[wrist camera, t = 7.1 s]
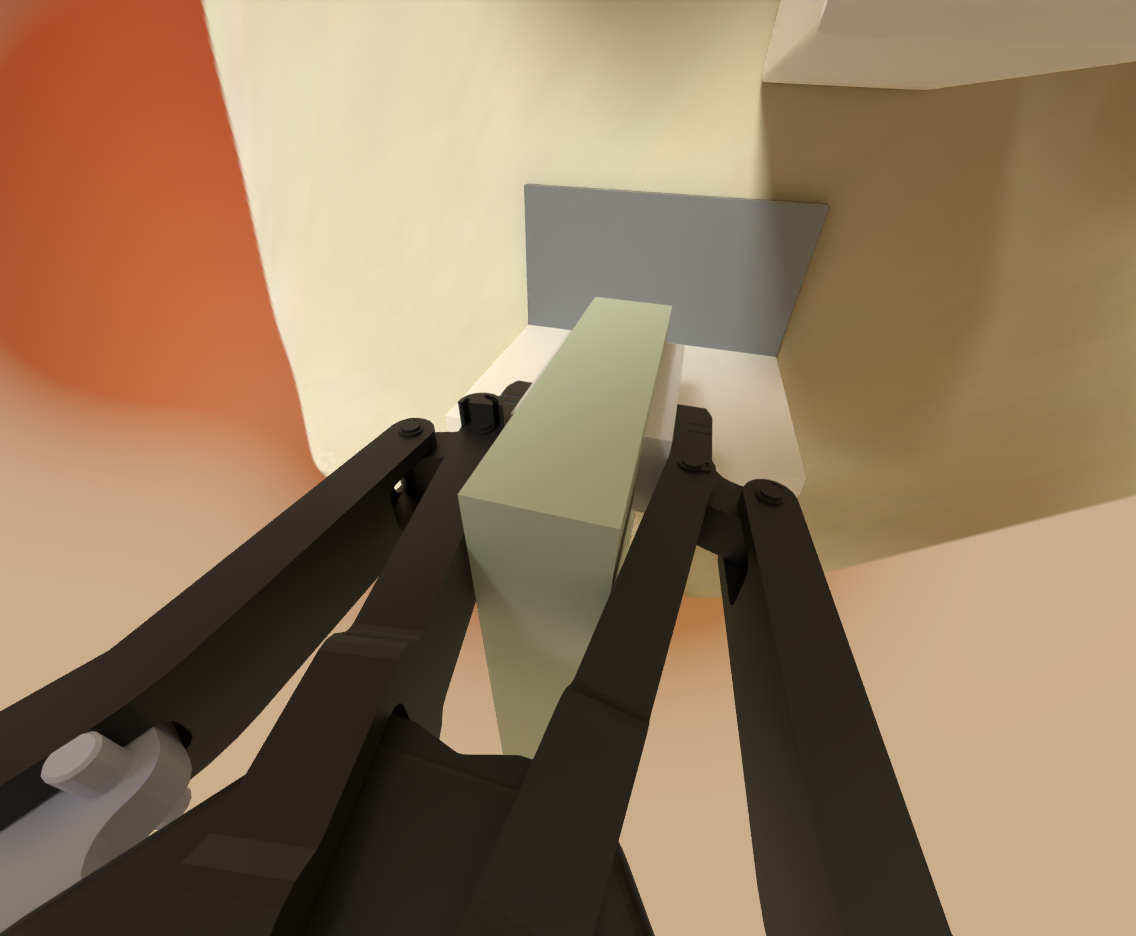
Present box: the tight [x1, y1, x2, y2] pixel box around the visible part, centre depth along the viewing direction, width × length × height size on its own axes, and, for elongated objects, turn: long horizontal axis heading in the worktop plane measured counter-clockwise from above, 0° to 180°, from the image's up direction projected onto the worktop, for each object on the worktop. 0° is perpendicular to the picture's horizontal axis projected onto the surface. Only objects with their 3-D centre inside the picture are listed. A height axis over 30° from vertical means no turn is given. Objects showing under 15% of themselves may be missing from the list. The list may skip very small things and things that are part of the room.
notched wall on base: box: [446, 184, 830, 498], centre depth 24 cm, size 16×18×13 cm
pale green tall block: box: [458, 297, 672, 759], centre depth 17 cm, size 14×3×12 cm, turn 178°
